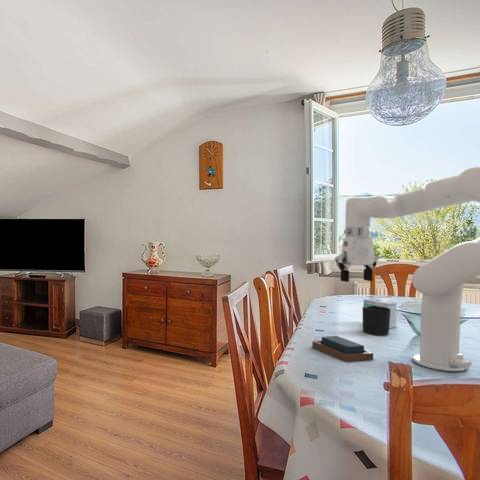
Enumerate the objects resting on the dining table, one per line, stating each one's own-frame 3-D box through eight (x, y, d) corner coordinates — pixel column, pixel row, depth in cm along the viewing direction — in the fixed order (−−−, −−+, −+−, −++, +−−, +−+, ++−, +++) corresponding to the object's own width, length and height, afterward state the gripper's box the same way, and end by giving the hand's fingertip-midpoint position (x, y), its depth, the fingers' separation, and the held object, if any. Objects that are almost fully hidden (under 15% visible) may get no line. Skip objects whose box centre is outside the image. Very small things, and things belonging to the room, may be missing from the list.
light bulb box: (362, 323, 176) (362, 298, 176) (372, 321, 179) (372, 297, 179) (387, 328, 167) (387, 303, 166) (397, 327, 170) (397, 301, 169)
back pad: (363, 356, 130) (364, 345, 129) (348, 357, 128) (348, 347, 128) (336, 345, 141) (336, 335, 141) (321, 346, 140) (321, 336, 140)
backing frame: (373, 359, 128) (373, 352, 128) (346, 361, 126) (346, 355, 126) (336, 345, 144) (336, 339, 143) (312, 347, 141) (312, 341, 141)
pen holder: (393, 336, 155) (394, 311, 155) (366, 335, 157) (367, 309, 157) (383, 330, 164) (384, 306, 164) (358, 329, 166) (359, 305, 166)
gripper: (344, 233, 136) (343, 283, 137) (387, 232, 140) (385, 281, 140) (328, 232, 143) (327, 280, 144) (369, 232, 147) (368, 278, 148)
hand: (356, 280), depth 142 cm, fingers open, 9 cm apart
